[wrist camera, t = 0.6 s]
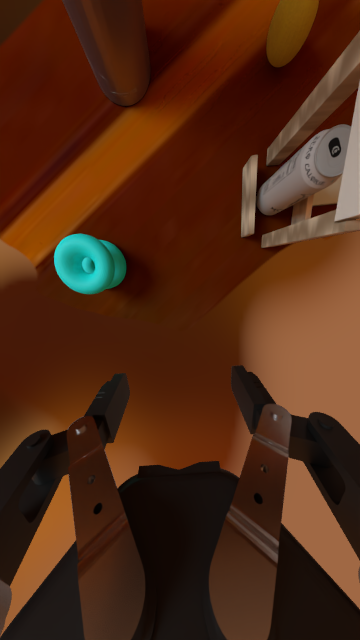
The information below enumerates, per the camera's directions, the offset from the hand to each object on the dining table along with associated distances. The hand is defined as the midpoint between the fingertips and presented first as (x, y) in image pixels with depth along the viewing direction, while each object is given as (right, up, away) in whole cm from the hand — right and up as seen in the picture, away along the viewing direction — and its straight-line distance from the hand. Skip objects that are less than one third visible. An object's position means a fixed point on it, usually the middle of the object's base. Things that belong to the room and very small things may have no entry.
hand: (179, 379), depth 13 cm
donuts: (-17, +17, +25) cm, 34 cm away
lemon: (+16, +47, +15) cm, 52 cm away
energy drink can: (+18, +29, +21) cm, 40 cm away
